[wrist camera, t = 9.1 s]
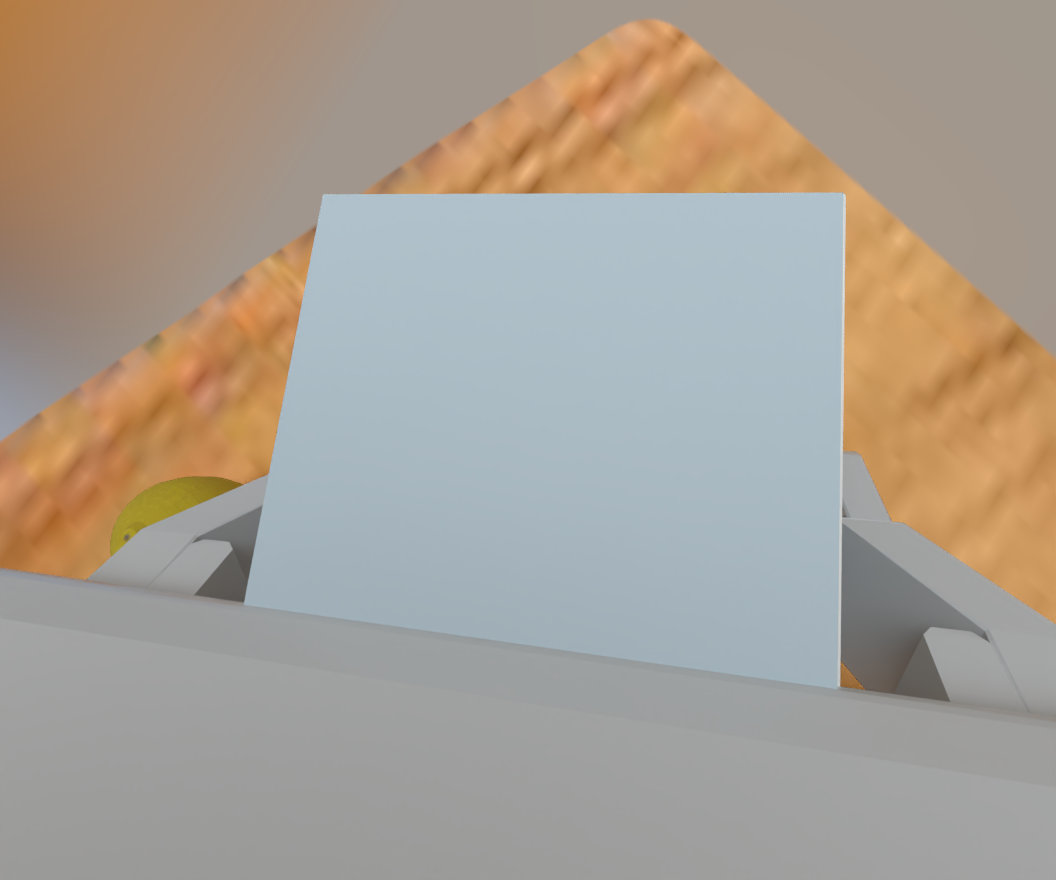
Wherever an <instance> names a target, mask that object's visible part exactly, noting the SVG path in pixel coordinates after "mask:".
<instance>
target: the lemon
mask: <svg viewBox="0 0 1056 880" xmlns="http://www.w3.org/2000/svg"><path fill="white" fill-rule="evenodd" d="M242 485H243V484H240V483H237V482H234V481H231V480H228V479H224V478H219V477H183V478H178V479H174V480H170V481H166V482H162V483H159V484H156V485H154V486H152V487H150V488H149V489H147V490H145V491H143V492H142V493H140V494H139V495H137V496H136V497H135V498H134V499H133V500H132V501H131V502H130V503H129V504H128V505H127V506H126V507H125V509H124V510H123V511H122V513H121V514H120V516H119V517H118V519H117V521H116V523H115V526H114V528H113V532H112V536H111V540H110V554H111V557H112V556H113V555H114V554H115V553H116V552H117V551H118V550H119V549H120V548H121V547H123V546H124V545H125V544H126V543H127V542H128V541H129V540H130V539H131V538H132V537H133V536H135V535H136V534H137V533H138V532H139V531H140V530H141V529H143V528H145V527H148V526H150V525H152V524H155V523H157V522H159V521H161V520H164V519H166V518H168V517H171V516H173V515H175V514H178V513H180V512H182V511H185V510H187V509H189V508H192V507H194V506H196V505H198V504H201V503H203V502H205V501H208V500H210V499H212V498H215V497H217V496H219V495H222V494H224V493H226V492H229V491H231V490H233V489H235V488H238V487H240V486H242Z"/></svg>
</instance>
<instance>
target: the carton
mask: <svg viewBox="0 0 1056 880" xmlns="http://www.w3.org/2000/svg"><path fill="white" fill-rule="evenodd" d="M845 216H846V194H843V193H602V194H336V195H335V194H331V195H330V194H324V195H323V198H322V204H321V209H320V214H319V219H318V224H317V229H316V234H315V239H314V244H313V250H312V255H311V260H310V265H309V270H308V275H307V280H306V286H305V291H304V296H303V301H302V306H301V311H300V317H299V322H298V327H297V332H296V337H295V342H294V347H293V353H292V358H291V363H290V368H289V373H288V378H287V384H286V389H285V394H284V399H283V404H282V409H281V414H280V420H279V425H278V430H277V435H276V440H275V445H274V451H273V456H272V461H271V466H270V471H269V476H268V481H267V487H266V492H265V497H264V502H263V507H262V512H261V518H260V523H259V528H258V533H257V538H256V543H255V548H254V554H253V559H252V564H251V569H250V574H249V579H248V585H247V590H246V595H245V600H244V605H249V606H256V607H263V608H270V609H277V610H284V611H291V612H298V613H305V614H313V615H320V616H327V617H334V618H341V619H348V620H355V621H362V622H369V623H376V624H383V625H390V626H397V627H404V628H411V629H419V630H426V631H433V632H440V633H447V634H453V635H460V636H467V637H474V638H481V639H488V640H495V641H502V642H509V643H516V644H523V645H530V646H537V647H544V648H551V649H558V650H565V651H572V652H579V653H586V654H593V655H600V656H607V657H614V658H621V659H628V660H635V661H642V662H649V663H656V664H663V665H670V666H677V667H684V668H691V669H698V670H705V671H712V672H719V673H726V674H733V675H740V676H747V677H754V678H762V679H769V680H776V681H783V682H790V683H797V684H804V685H811V686H818V687H825V688H832V689H837V686H840V658H841V570H842V481H843V393H844V304H845Z"/></svg>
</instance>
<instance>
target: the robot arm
mask: <svg viewBox="0 0 1056 880" xmlns="http://www.w3.org/2000/svg"><path fill="white" fill-rule="evenodd" d="M268 476H269V474H268V475H266V476H263V477H261V478H259V479H256V480H254V481H252V482H249V483H247V484H245V485H242V486H240V487H238V488H235V489H233V490H231V491H229V492H226V493H224V494H222V495H219V496H217V497H215V498H212V499H210V500H208V501H205V502H203V503H201V504H198V505H196V506H194V507H192V508H189V509H187V510H185V511H182V512H180V513H178V514H175V515H173V516H171V517H168V518H166V519H164V520H161V521H159V522H157V523H155V524H152V525H150V526H148V527H145V528H143V529H141V530H140V531H139V532H138V533H137V534H136V535H135V536H133V537H132V538H131V539H130V540H129V541H128V542H127V543H126V544H125V545H124V546H123V547H121V548H120V549H119V550H118V551H117V552H116V553H115V554H114V555H113V556H112V557H111V558H109V559H108V560H107V561H106V562H105V563H104V564H103V565H102V566H101V567H100V568H98V569H97V570H96V571H95V572H94V573H93V574H92V575H91V576H90V577H89V578H88V579H86V580H83V579H75V578H68V577H61V576H54V575H47V574H40V573H33V572H26V571H19V570H12V569H5V568H0V880H1056V624H1054V623H1053V622H1051V621H1050V620H1048V619H1047V618H1045V617H1044V616H1042V615H1041V614H1039V613H1038V612H1036V611H1035V610H1033V609H1032V608H1030V607H1029V606H1027V605H1026V604H1024V603H1023V602H1021V601H1020V600H1018V599H1017V598H1015V597H1014V596H1012V595H1011V594H1009V593H1008V592H1006V591H1005V590H1003V589H1002V588H1000V587H999V586H997V585H996V584H994V583H993V582H991V581H990V580H988V579H987V578H985V577H984V576H982V575H981V574H979V573H978V572H976V571H975V570H973V569H972V568H970V567H969V566H967V565H966V564H964V563H963V562H961V561H960V560H958V559H957V558H955V557H954V556H952V555H951V554H949V553H948V552H946V551H945V550H943V549H942V548H940V547H939V546H937V545H936V544H934V543H933V542H931V541H930V540H928V539H927V538H925V537H924V536H922V535H921V534H919V533H918V532H916V531H915V530H913V529H912V528H910V527H909V526H907V525H906V524H904V523H899V522H892V521H891V518H890V516H889V514H888V512H887V510H886V508H885V506H884V504H883V501H882V499H881V497H880V495H879V493H878V491H877V489H876V486H875V484H874V482H873V480H872V478H871V476H870V474H869V472H868V469H867V467H866V465H865V463H864V461H863V459H862V457H861V455H860V454H859V453H857V452H855V451H843V481H842V570H841V658H840V660H841V661H842V662H843V664H844V665H845V666H846V667H847V668H848V670H849V671H850V672H851V673H852V674H853V675H854V677H855V678H856V679H857V680H858V681H859V683H860V684H861V685H862V686H863V687H864V688H865V690H861V689H854V688H847V687H840V686H837V689H832V688H825V687H818V686H811V685H804V684H797V683H790V682H783V681H776V680H769V679H762V678H754V677H747V676H740V675H733V674H726V673H719V672H712V671H705V670H698V669H691V668H684V667H677V666H670V665H663V664H656V663H649V662H642V661H635V660H628V659H621V658H614V657H607V656H600V655H593V654H586V653H579V652H572V651H565V650H558V649H551V648H544V647H537V646H530V645H523V644H516V643H509V642H502V641H495V640H488V639H481V638H474V637H467V636H460V635H453V634H447V633H440V632H433V631H426V630H419V629H411V628H404V627H397V626H390V625H383V624H376V623H369V622H362V621H355V620H348V619H341V618H334V617H327V616H320V615H313V614H305V613H298V612H291V611H284V610H277V609H270V608H263V607H256V606H249V605H244V600H245V595H246V590H247V585H248V579H249V574H250V569H251V564H252V559H253V554H254V548H255V543H256V538H257V533H258V528H259V523H260V518H261V512H262V507H263V502H264V497H265V492H266V487H267V481H268Z"/></svg>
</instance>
